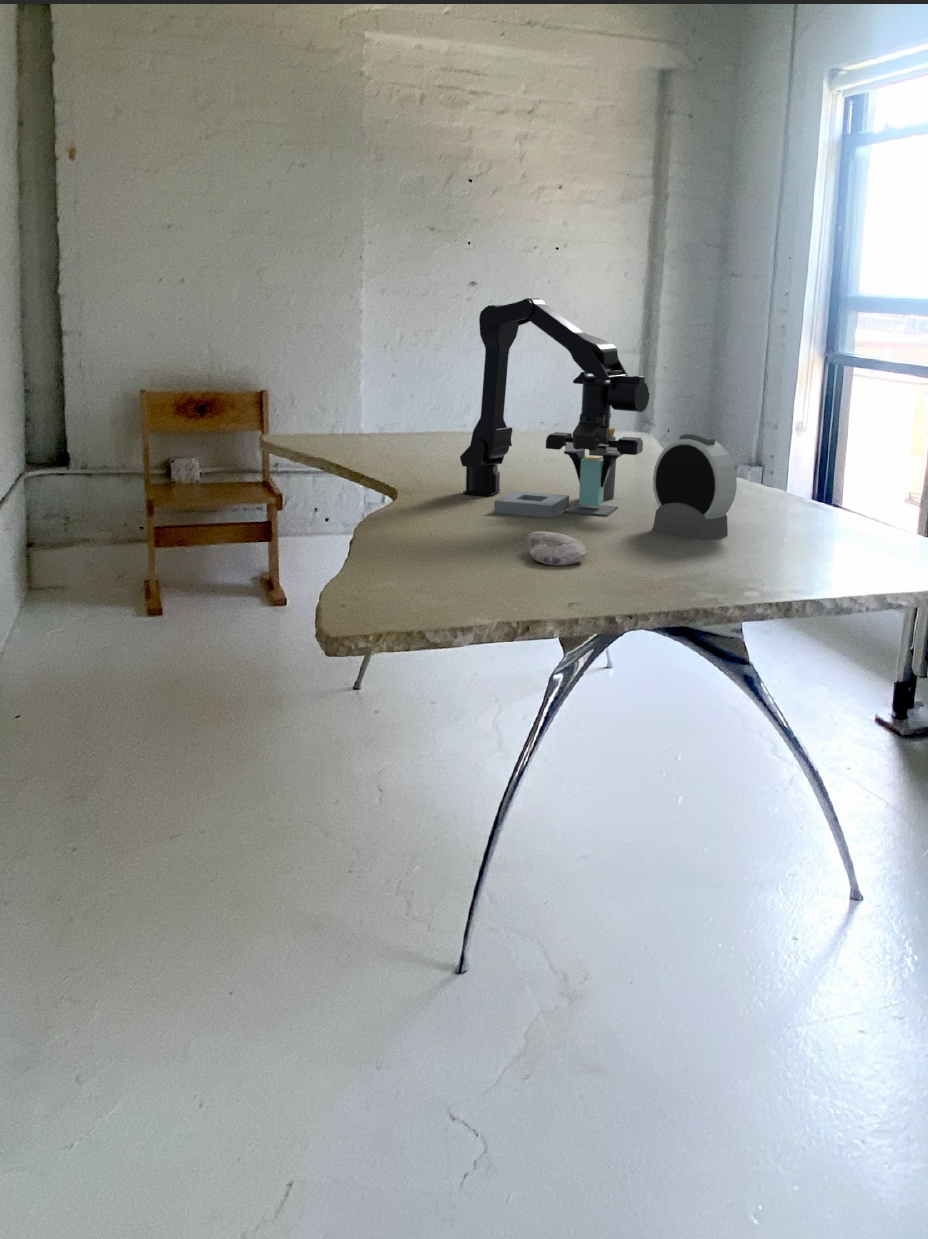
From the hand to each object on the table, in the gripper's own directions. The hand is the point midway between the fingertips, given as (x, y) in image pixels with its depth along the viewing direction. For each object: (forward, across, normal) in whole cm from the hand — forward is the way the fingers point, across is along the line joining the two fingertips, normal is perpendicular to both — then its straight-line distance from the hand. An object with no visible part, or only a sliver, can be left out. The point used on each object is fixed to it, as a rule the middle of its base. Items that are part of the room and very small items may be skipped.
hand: (591, 486), depth 216 cm
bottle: (+5, -2, +15) cm, 16 cm away
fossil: (+5, +5, -42) cm, 43 cm away
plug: (+4, 0, 0) cm, 4 cm away
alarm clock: (+5, +22, -11) cm, 25 cm away
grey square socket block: (+5, -11, -5) cm, 13 cm away
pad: (+5, 0, 0) cm, 5 cm away
